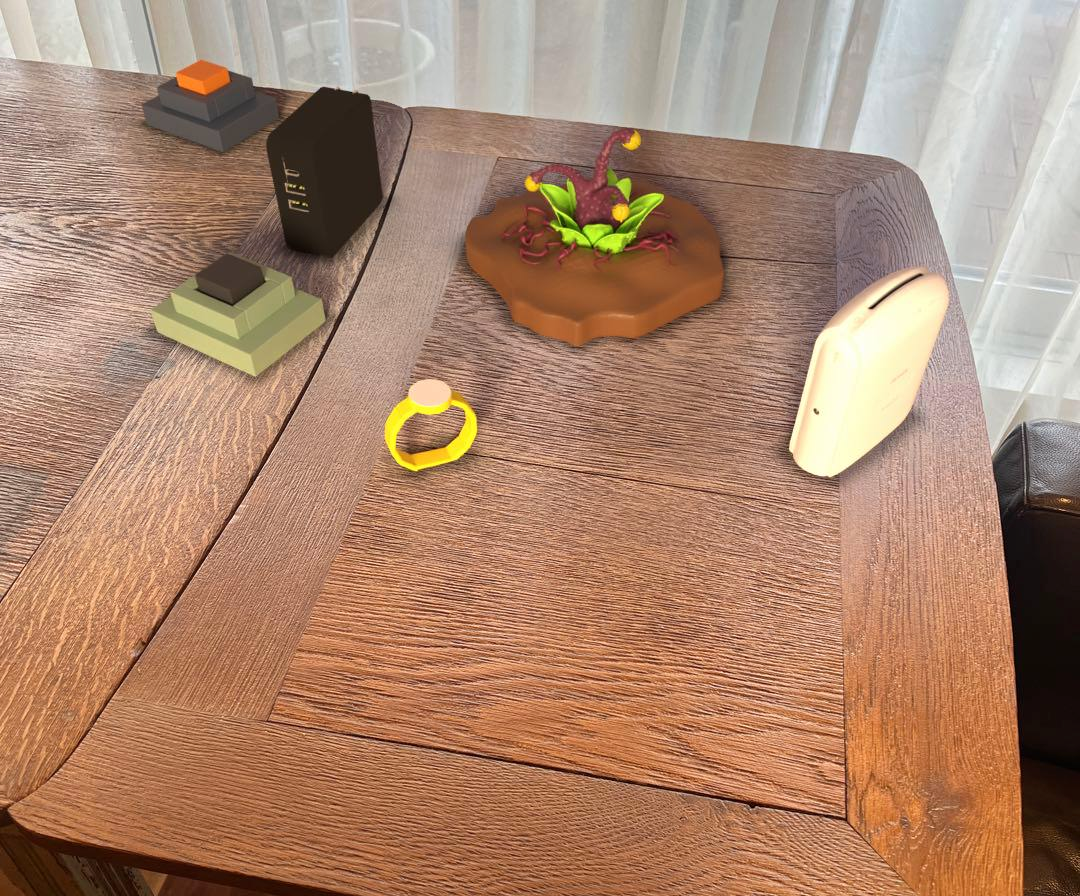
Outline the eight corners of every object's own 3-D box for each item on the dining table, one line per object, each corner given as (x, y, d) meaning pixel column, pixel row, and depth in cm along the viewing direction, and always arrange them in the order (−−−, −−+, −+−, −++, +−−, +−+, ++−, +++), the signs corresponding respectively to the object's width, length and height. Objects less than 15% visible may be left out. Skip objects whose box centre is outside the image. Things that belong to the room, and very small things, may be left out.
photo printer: (828, 489, 68) (875, 338, 59) (776, 456, 70) (814, 305, 61) (916, 418, 73) (972, 268, 63) (865, 389, 75) (913, 239, 65)
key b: (179, 89, 98) (175, 72, 97) (205, 75, 100) (201, 59, 99) (205, 97, 97) (201, 81, 95) (231, 84, 99) (227, 67, 97)
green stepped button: (157, 333, 79) (142, 289, 76) (230, 282, 83) (219, 238, 80) (255, 378, 75) (244, 334, 72) (326, 322, 80) (318, 278, 77)
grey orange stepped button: (147, 126, 100) (135, 85, 97) (205, 94, 105) (196, 54, 102) (223, 153, 97) (213, 112, 94) (280, 119, 101) (272, 79, 98)
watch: (397, 486, 68) (388, 418, 64) (385, 459, 70) (375, 391, 65) (482, 461, 70) (479, 394, 65) (468, 436, 71) (464, 368, 67)
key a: (199, 292, 76) (194, 275, 75) (231, 270, 78) (226, 252, 77) (233, 307, 75) (228, 289, 74) (265, 284, 77) (261, 266, 76)
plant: (766, 299, 82) (793, 168, 74) (546, 367, 76) (548, 233, 68) (641, 182, 94) (652, 57, 85) (443, 233, 88) (433, 105, 80)
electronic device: (286, 252, 86) (262, 138, 79) (342, 193, 92) (325, 82, 85) (331, 262, 85) (311, 147, 78) (384, 202, 91) (370, 90, 84)
